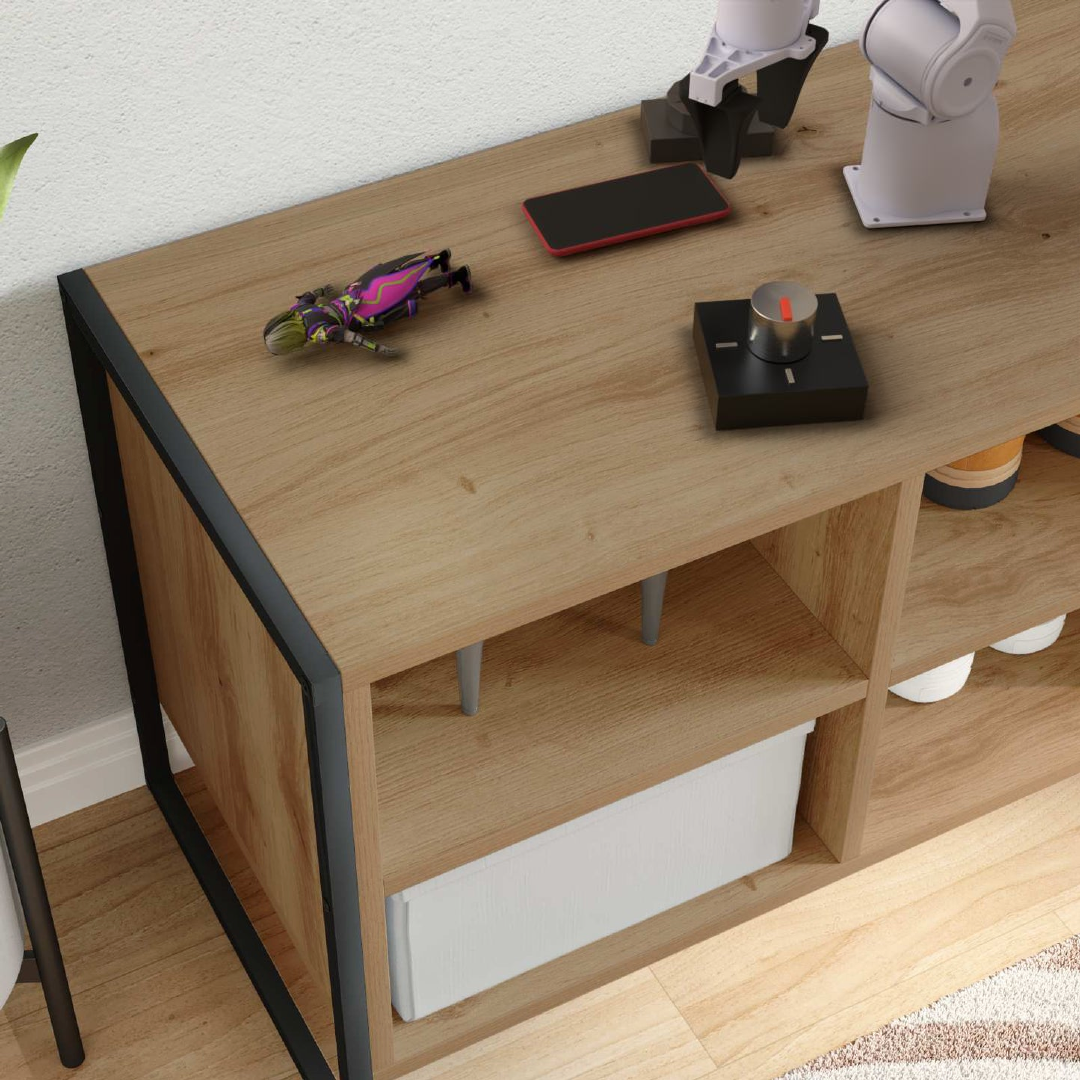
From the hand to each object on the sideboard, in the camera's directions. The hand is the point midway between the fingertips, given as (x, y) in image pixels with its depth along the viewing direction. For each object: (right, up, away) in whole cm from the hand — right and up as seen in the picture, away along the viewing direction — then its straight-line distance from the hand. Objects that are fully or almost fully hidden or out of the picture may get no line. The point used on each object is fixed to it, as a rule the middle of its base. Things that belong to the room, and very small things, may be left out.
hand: (747, 147), depth 113 cm
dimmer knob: (+1, -15, -6) cm, 16 cm away
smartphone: (-8, -3, +10) cm, 13 cm away
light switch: (-1, +5, +17) cm, 17 cm away
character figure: (-27, -13, +1) cm, 30 cm away
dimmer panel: (+1, -17, -4) cm, 17 cm away
